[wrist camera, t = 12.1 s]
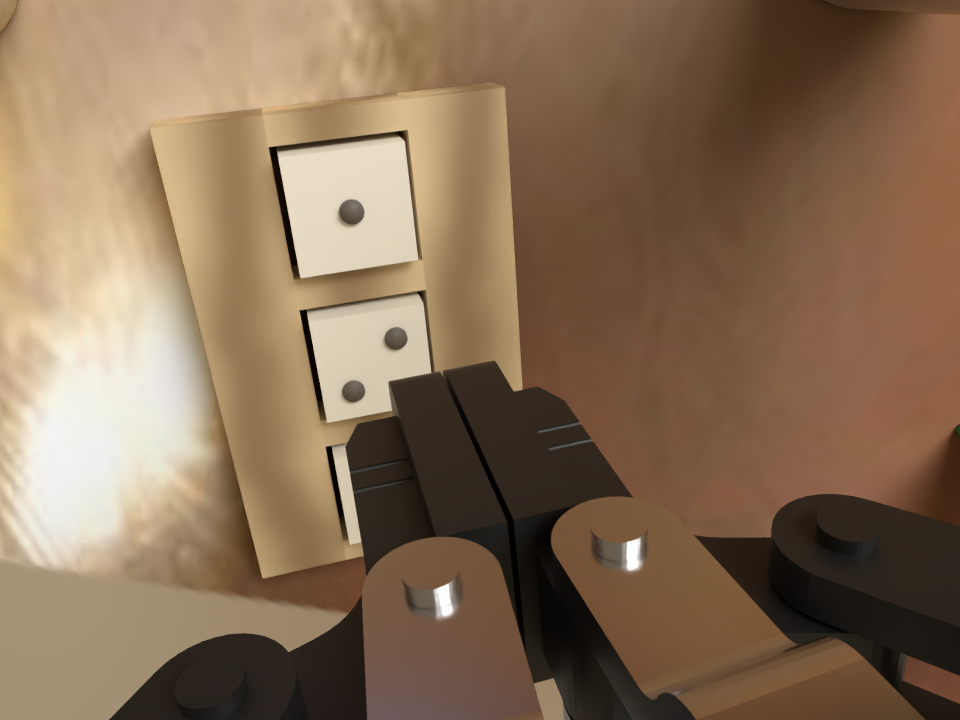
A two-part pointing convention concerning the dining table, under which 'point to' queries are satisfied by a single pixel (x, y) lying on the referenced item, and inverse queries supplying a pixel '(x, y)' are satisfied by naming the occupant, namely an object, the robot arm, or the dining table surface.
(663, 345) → the dining table surface
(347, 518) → the tile three
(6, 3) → the candle
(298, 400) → the board
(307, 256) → the tile one
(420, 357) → the tile two
